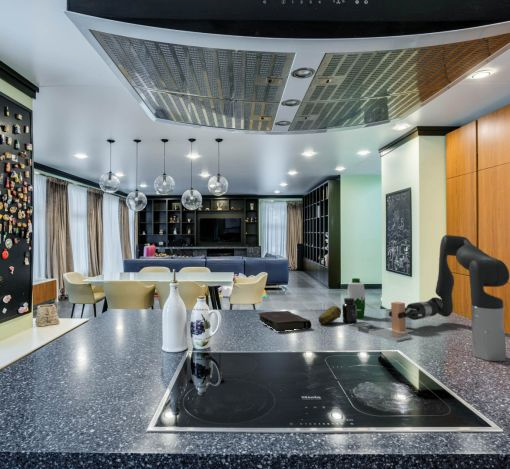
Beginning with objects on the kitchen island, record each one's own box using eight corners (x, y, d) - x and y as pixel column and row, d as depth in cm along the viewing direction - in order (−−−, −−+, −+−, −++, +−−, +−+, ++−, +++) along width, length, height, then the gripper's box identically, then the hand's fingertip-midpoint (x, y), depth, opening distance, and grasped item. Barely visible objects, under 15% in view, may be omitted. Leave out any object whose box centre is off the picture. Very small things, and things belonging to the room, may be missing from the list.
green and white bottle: (365, 315, 191) (364, 278, 192) (365, 319, 182) (364, 280, 183) (348, 314, 194) (347, 278, 194) (347, 318, 185) (346, 279, 185)
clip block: (405, 330, 155) (404, 303, 155) (399, 331, 153) (398, 303, 153) (397, 328, 159) (397, 301, 159) (391, 329, 157) (391, 302, 157)
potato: (313, 322, 177) (313, 306, 177) (337, 320, 180) (337, 304, 180) (321, 326, 169) (320, 309, 169) (345, 324, 172) (345, 307, 172)
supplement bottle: (355, 321, 178) (355, 297, 178) (358, 324, 171) (357, 299, 171) (341, 321, 178) (341, 297, 179) (343, 324, 172) (343, 299, 172)
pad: (414, 332, 154) (414, 330, 154) (400, 335, 150) (400, 333, 150) (396, 328, 162) (396, 326, 162) (383, 331, 158) (383, 329, 158)
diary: (288, 319, 187) (288, 310, 188) (311, 330, 164) (311, 319, 164) (255, 322, 181) (255, 312, 181) (274, 333, 158) (274, 322, 158)
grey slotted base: (411, 340, 143) (411, 334, 143) (396, 343, 139) (396, 338, 139) (362, 327, 166) (362, 322, 166) (348, 329, 161) (348, 325, 161)
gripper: (405, 300, 169) (380, 304, 161) (433, 304, 157) (408, 308, 148) (405, 316, 169) (381, 320, 161) (433, 321, 157) (408, 326, 148)
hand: (394, 314), depth 155 cm, fingers closed on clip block, 4 cm apart
